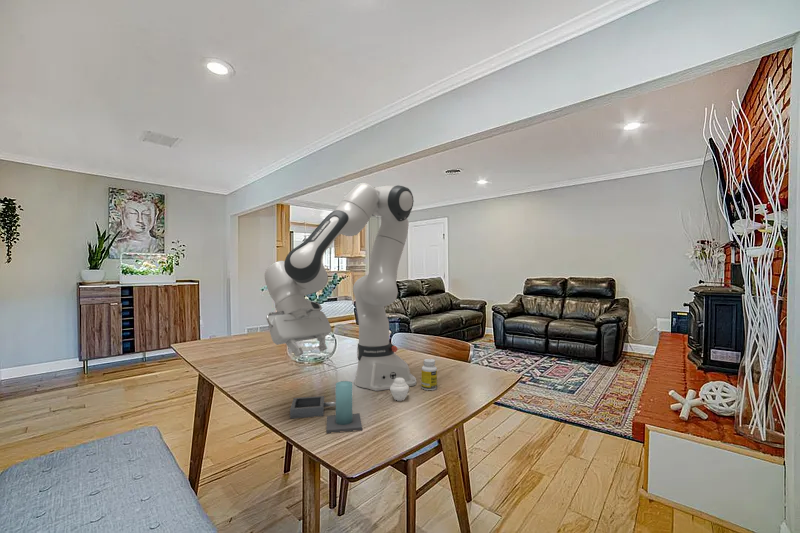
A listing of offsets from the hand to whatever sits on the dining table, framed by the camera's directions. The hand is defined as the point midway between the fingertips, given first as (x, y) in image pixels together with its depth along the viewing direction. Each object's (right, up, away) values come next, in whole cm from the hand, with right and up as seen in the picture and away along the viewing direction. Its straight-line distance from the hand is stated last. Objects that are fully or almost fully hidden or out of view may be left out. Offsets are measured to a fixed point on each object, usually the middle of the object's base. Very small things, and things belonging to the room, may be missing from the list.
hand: (312, 352), depth 100 cm
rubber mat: (+10, -18, -6) cm, 21 cm away
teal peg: (+10, -17, -6) cm, 21 cm away
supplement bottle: (+35, -18, +22) cm, 45 cm away
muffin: (+25, -18, +12) cm, 33 cm away
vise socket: (+1, -18, +4) cm, 18 cm away
